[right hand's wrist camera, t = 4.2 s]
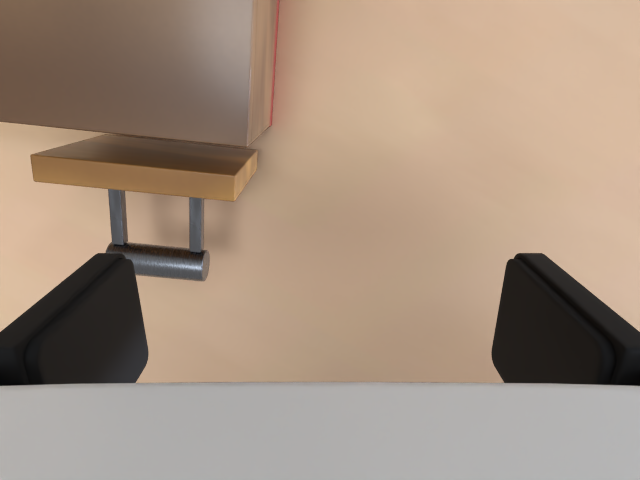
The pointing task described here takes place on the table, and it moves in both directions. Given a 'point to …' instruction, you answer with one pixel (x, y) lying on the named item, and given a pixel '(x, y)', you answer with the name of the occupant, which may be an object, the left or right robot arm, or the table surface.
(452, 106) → the table surface
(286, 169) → the table surface
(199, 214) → the drawer
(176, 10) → the brown red-edged long box
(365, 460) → the right robot arm
